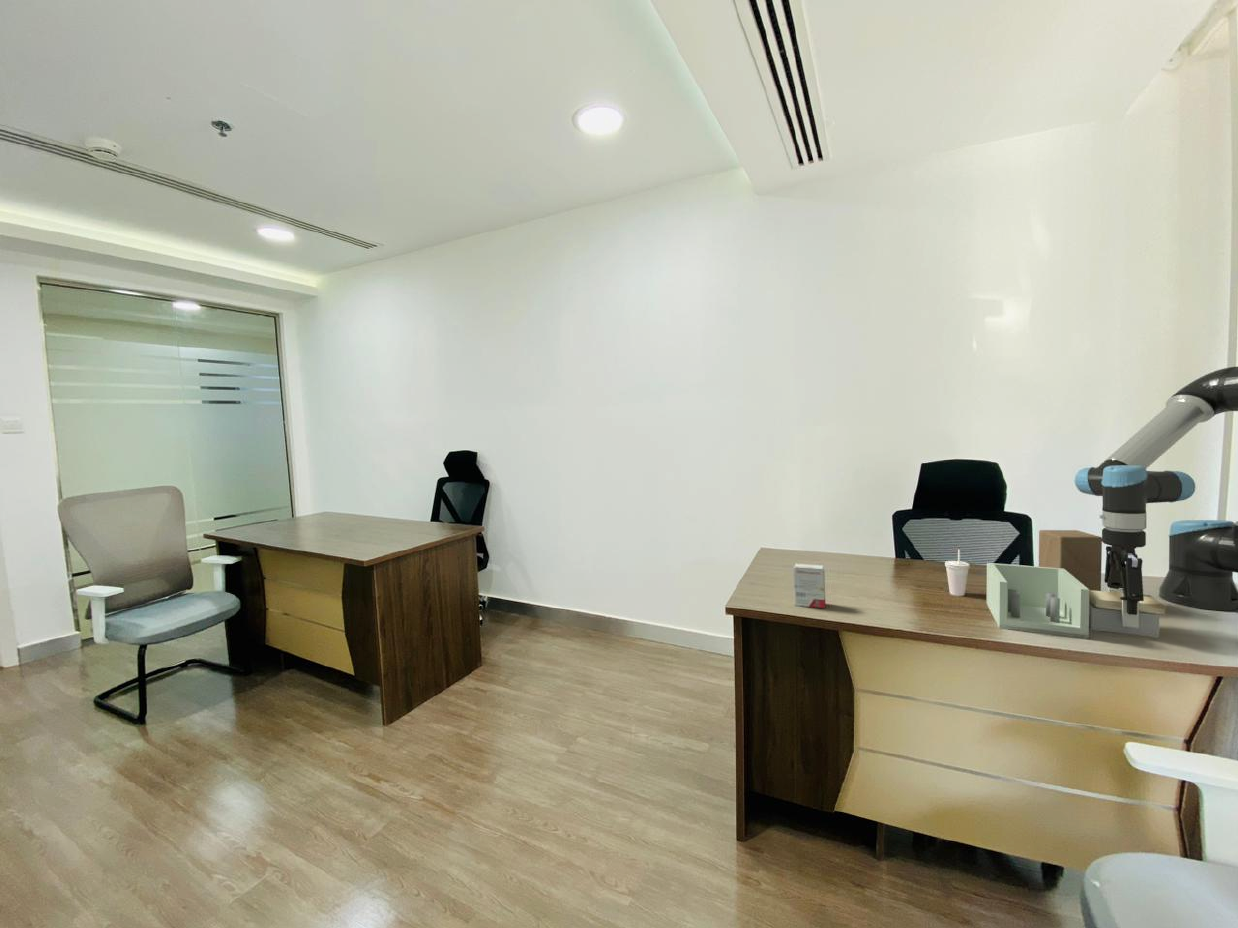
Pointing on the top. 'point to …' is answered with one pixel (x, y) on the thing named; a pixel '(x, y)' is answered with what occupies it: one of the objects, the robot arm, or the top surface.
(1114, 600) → the shelf board
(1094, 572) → the wooden block
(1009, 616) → the light green open box
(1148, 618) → the block
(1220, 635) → the top surface
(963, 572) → the smoothie
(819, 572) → the ink box
